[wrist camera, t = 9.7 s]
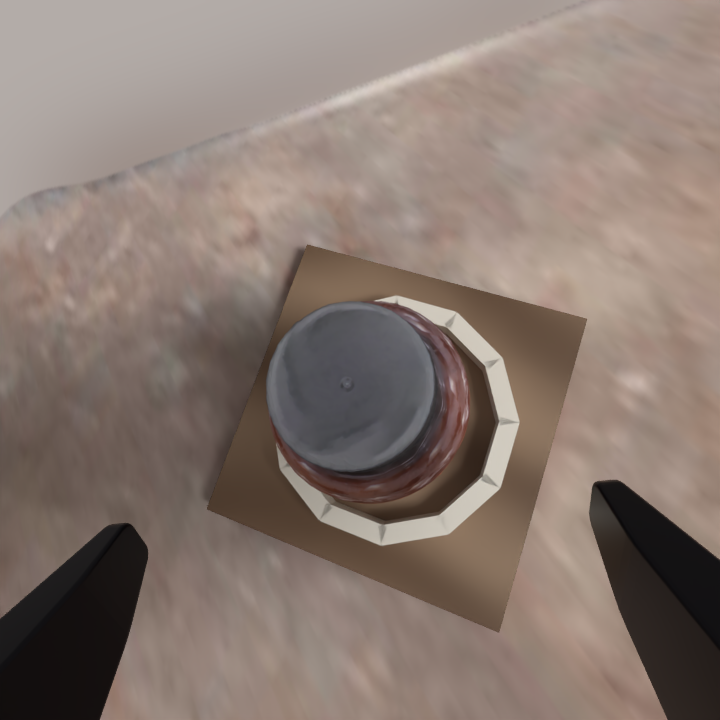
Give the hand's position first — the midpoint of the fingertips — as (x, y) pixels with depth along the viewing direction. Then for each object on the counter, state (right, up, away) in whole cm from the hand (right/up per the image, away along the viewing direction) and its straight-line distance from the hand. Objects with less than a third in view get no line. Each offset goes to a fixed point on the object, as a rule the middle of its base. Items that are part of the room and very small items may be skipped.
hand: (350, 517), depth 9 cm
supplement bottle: (+2, 0, +13) cm, 13 cm away
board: (+2, 0, +13) cm, 14 cm away
